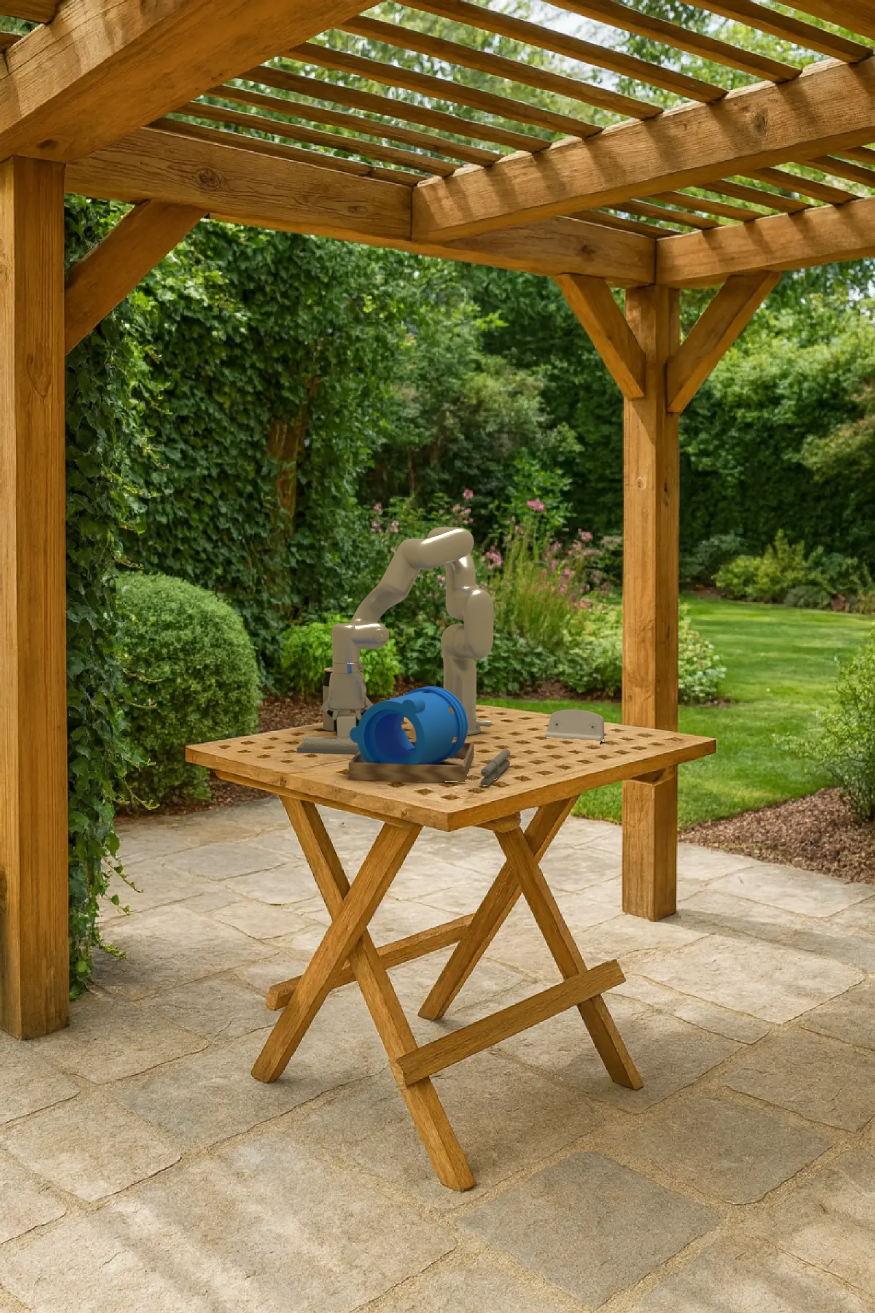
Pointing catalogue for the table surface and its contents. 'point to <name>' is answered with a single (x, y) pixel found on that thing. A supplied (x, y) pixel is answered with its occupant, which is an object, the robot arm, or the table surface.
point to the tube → (430, 721)
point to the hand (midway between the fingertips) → (348, 732)
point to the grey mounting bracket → (576, 725)
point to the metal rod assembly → (495, 767)
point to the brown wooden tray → (412, 769)
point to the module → (345, 724)
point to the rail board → (327, 749)
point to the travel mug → (327, 720)
